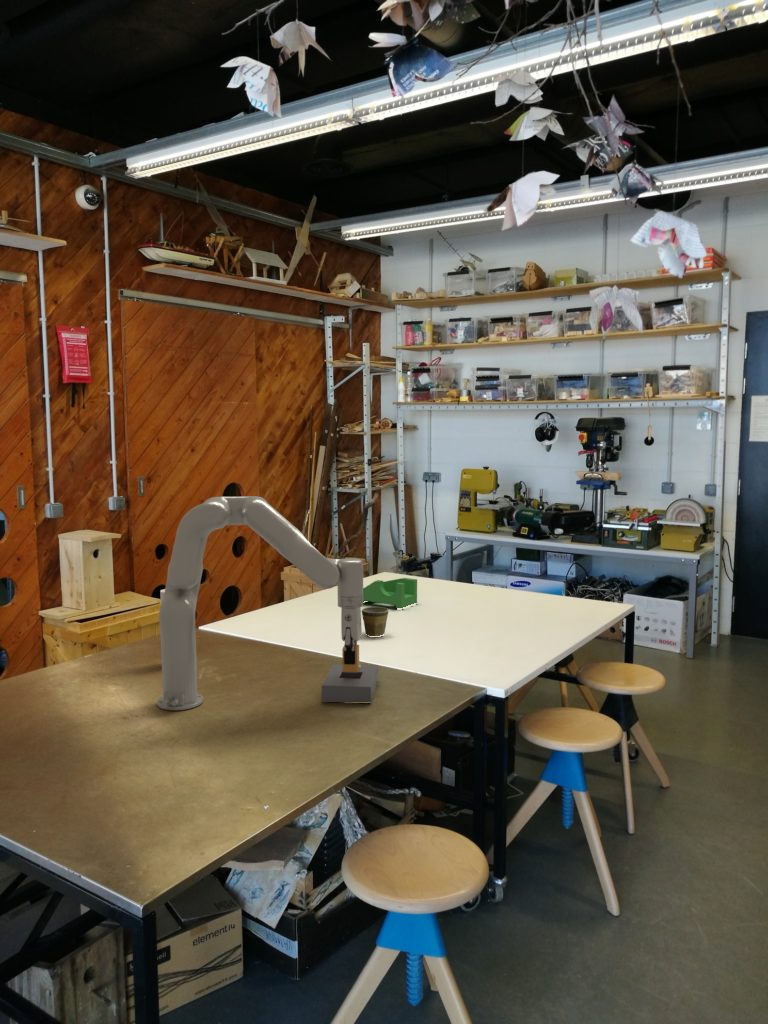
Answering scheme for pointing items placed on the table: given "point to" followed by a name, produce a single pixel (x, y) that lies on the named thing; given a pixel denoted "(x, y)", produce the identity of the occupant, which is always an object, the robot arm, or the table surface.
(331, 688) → the socket
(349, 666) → the plug
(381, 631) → the ceramic cup
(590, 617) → the table surface
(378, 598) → the ramp block with notch
